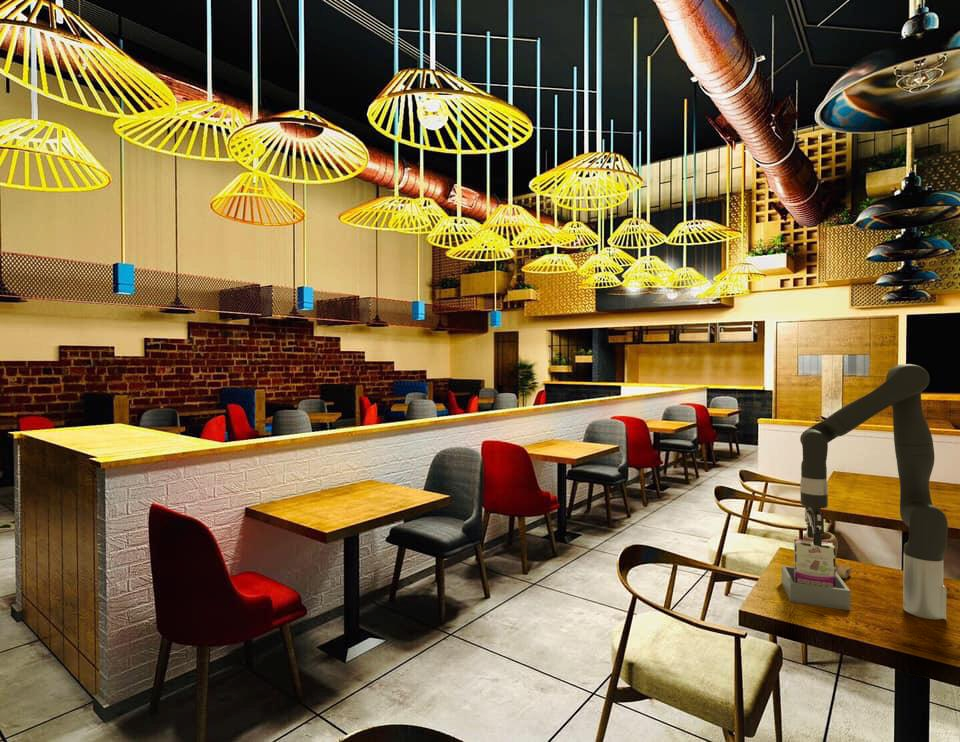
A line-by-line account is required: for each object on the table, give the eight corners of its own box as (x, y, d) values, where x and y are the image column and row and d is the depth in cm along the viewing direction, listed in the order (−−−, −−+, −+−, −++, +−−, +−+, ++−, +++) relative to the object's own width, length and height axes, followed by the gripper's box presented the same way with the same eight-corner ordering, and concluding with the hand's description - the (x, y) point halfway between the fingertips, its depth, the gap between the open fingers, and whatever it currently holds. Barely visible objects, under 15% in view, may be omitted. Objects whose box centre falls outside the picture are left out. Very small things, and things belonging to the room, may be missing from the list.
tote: (836, 589, 177) (836, 571, 177) (850, 610, 162) (850, 590, 162) (781, 582, 183) (781, 565, 183) (790, 602, 168) (790, 583, 168)
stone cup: (799, 575, 190) (799, 533, 190) (802, 565, 199) (802, 525, 199) (850, 585, 181) (851, 541, 181) (851, 574, 191) (852, 532, 190)
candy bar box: (833, 593, 172) (833, 542, 172) (835, 599, 168) (836, 547, 167) (793, 586, 177) (793, 537, 177) (794, 592, 173) (795, 542, 172)
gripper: (833, 497, 164) (833, 549, 164) (822, 487, 178) (822, 536, 178) (805, 495, 167) (805, 547, 167) (796, 485, 180) (796, 533, 180)
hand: (814, 541), depth 172 cm, fingers open, 8 cm apart
